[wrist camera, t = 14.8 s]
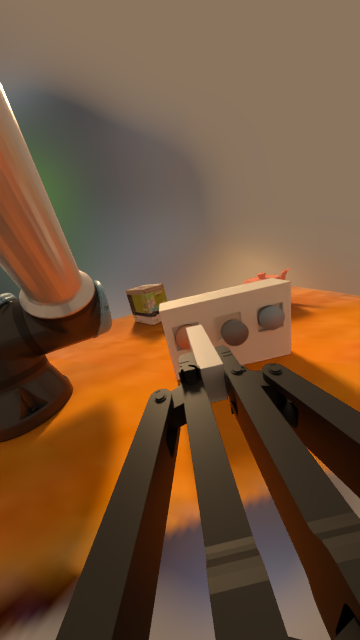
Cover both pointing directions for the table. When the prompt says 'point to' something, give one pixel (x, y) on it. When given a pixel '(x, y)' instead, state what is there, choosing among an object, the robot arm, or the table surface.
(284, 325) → the button panel
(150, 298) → the tea box
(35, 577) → the table surface
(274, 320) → the dark grey button
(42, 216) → the robot arm
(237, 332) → the grey button
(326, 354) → the table surface
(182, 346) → the terracotta button
